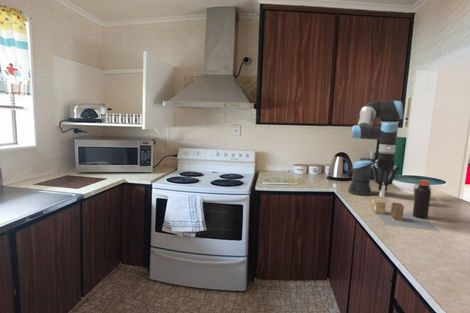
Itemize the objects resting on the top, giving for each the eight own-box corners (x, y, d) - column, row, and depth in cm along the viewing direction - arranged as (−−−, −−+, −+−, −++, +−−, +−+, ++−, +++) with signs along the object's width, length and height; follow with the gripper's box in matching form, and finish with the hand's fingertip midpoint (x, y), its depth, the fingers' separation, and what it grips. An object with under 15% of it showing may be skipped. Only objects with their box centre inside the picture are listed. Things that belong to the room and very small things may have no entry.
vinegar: (430, 218, 147) (435, 182, 144) (420, 219, 145) (425, 182, 142) (418, 214, 154) (423, 179, 151) (409, 215, 152) (414, 179, 149)
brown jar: (413, 200, 181) (415, 183, 179) (430, 204, 174) (433, 186, 172) (409, 203, 174) (411, 185, 172) (427, 207, 167) (429, 188, 166)
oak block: (371, 210, 157) (372, 198, 156) (380, 211, 157) (381, 199, 156) (375, 213, 152) (376, 201, 151) (384, 214, 152) (385, 202, 151)
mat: (374, 211, 158) (374, 210, 158) (421, 216, 152) (421, 215, 152) (385, 225, 137) (385, 224, 136) (440, 231, 131) (440, 230, 131)
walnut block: (390, 216, 148) (391, 202, 147) (398, 217, 147) (400, 203, 146) (393, 220, 143) (395, 205, 142) (402, 221, 142) (404, 206, 141)
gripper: (374, 152, 140) (370, 197, 143) (403, 154, 137) (397, 200, 140) (371, 151, 147) (366, 193, 150) (398, 152, 144) (393, 196, 147)
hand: (381, 196), depth 145 cm, fingers closed
